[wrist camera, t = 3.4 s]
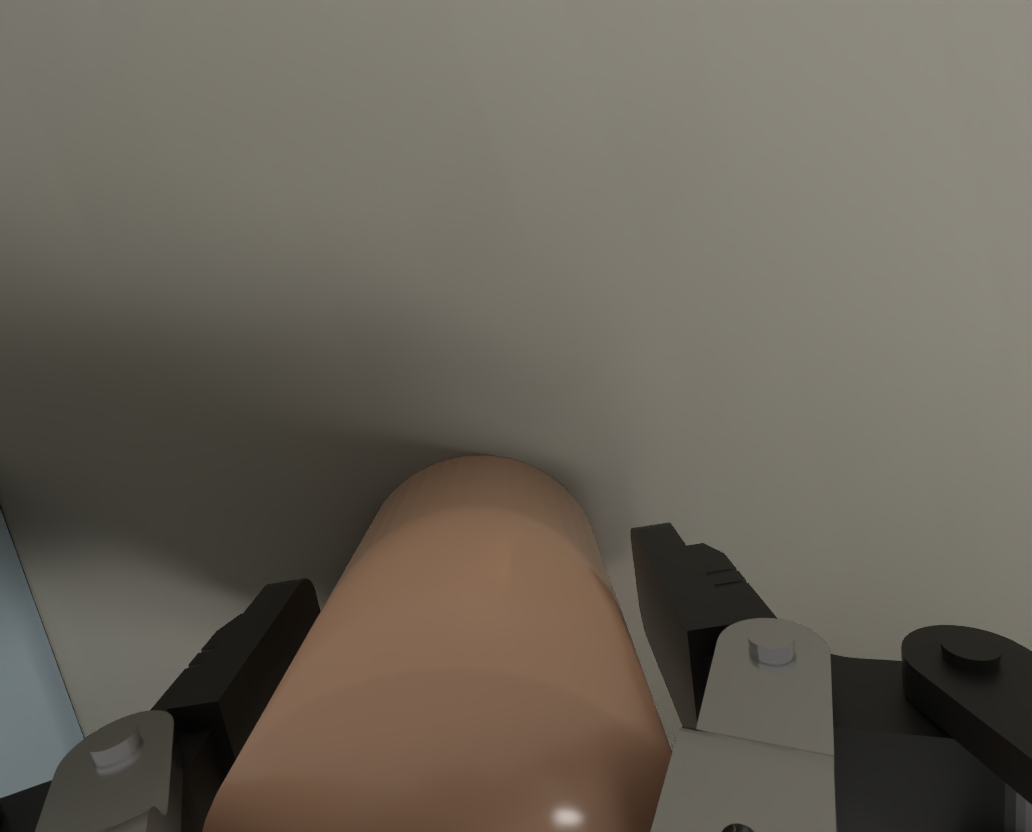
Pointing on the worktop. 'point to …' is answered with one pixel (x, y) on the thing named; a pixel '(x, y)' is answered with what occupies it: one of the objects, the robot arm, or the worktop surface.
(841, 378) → the worktop surface
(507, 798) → the brown egg
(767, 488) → the worktop surface
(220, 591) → the worktop surface
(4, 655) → the tote
